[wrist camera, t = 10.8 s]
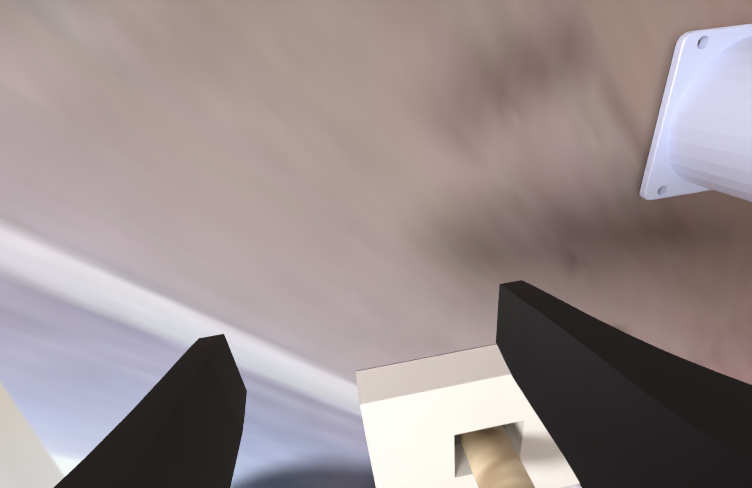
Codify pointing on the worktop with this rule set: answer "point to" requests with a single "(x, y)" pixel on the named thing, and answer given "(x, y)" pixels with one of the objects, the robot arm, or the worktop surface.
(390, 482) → the socket plate
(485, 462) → the peg
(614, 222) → the worktop surface
